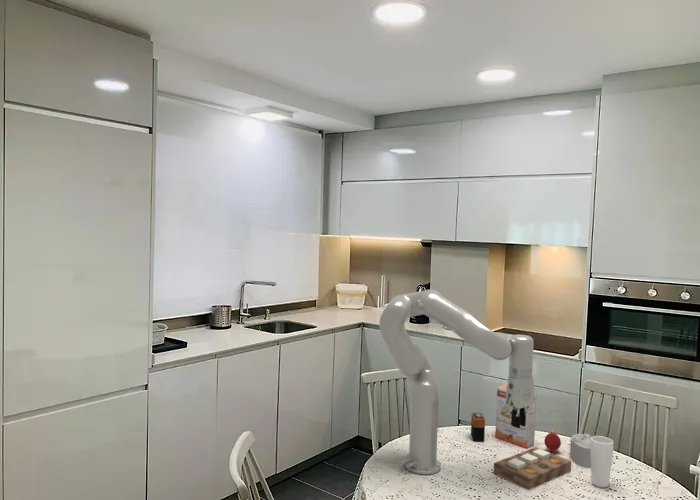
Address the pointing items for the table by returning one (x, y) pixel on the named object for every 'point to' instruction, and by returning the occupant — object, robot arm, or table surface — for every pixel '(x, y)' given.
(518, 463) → the button left
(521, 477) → the button board
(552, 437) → the onion
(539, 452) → the button right
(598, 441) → the drinking glass
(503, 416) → the cracker box
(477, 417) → the battery
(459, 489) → the table surface
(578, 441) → the lumpy-topped squat cylinder
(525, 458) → the button middle
